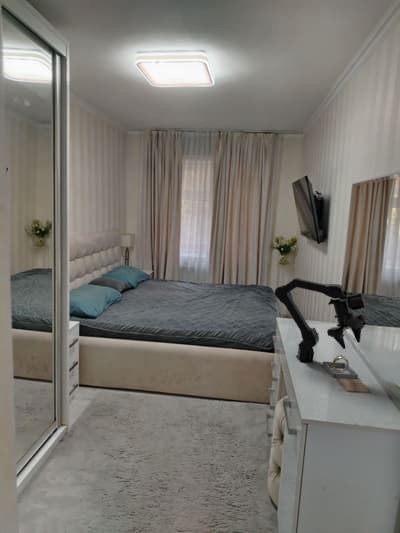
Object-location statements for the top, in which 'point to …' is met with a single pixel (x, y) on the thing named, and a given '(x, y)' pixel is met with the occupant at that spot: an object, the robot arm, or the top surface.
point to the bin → (340, 375)
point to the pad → (353, 385)
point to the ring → (339, 359)
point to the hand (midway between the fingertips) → (351, 345)
